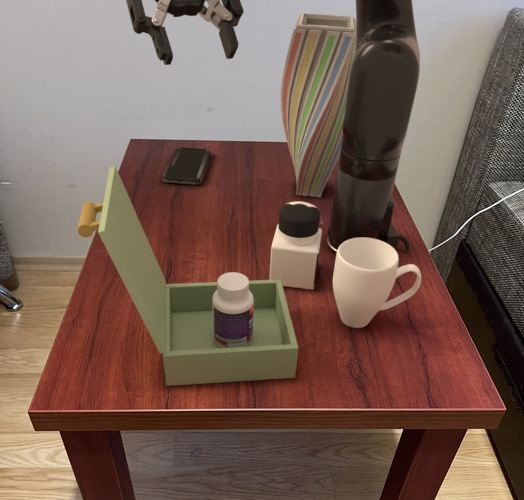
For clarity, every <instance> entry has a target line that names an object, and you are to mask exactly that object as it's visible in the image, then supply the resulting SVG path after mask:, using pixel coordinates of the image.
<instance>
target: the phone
mask: <svg viewBox="0 0 524 500" xmlns="http://www.w3.org/2000/svg"><path fill="white" fill-rule="evenodd" d="M211 158H212V151H211V150H210V149H207V148H193V147H177V148H175V149H174V151H173V153H172V155H171V158H170V160H169V161H168V164H167V165H166V167H165V169H164V172H163V173H162V182H164V183H166V184H178V185H179V184H180V185H191V186H198V185H200V184H202V182H203V180H204V177H205V174H206V171H207V168H208V166H209V163H210V160H211Z"/></svg>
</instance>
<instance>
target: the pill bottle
mask: <svg viewBox="0 0 524 500" xmlns="http://www.w3.org/2000/svg"><path fill="white" fill-rule="evenodd" d="M249 281H250V280H249V278H248V276H246V275H245V274H243V273H240V272H237V271H236V272H235V271H231V272H225V273H223V274H221V275H220V276H219V277H218V278H217V281H216V282H217V290H216V291H215V293H214V294H213V297H212V312H213V337H214V341H215V343H216V344H217V345H218V346H219V347H221V348H236V347H247V346H248V345H249V344H250V343H251V341H252V336H253V308H254V298H253V295H252V293H251V292H250V291H249Z"/></svg>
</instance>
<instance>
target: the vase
mask: <svg viewBox="0 0 524 500" xmlns="http://www.w3.org/2000/svg"><path fill="white" fill-rule="evenodd" d="M356 37H357V26H356V18H355V17H354V16H353V15H342V14H340V15H339V14H324V13H311V12H301V13H300V14H299V15H298V17H297V19H296V22H295V25H294V27H293V31H292V34H291V38H290V41H289V42H290V43H289V46H288V50H287V54H286V58H285V63H284V68H283V71H282V72H283V73H282V78H281V84H280V86H281V87H280V110H281V111H280V112H281V119H282V124H283V130H284V131H283V132H284V136H285V140H286V144H287V147H288V151H289V154H290V158H291V161H292V162H291V163H292V166H293V170H294V173H295V181H296V190H295V191H296V192H295V196H304V197H317V198H322V194H323V191H324V189H325V187H326V186H327V183H328V181H329V179H330V177H331V175H332V173H333V171H334V169H335V166H336V165H337V163H338V161H339V157H340V150H341V143H342V129H343V121H344V113H345V105H346V97H347V90H348V82H349V76H350V70H351V66H352V62H353V60H354V57H355V54H356Z"/></svg>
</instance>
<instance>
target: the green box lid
mask: <svg viewBox="0 0 524 500" xmlns="http://www.w3.org/2000/svg"><path fill="white" fill-rule="evenodd" d="M98 213H100V219H99V220H97V221H96V218H97V215H98ZM76 230H77V233H78V235H79V236H80V237H82V238H90V237H92V236H93V233H94V232H96V231H97V233H98V236H99V237H100V239H101V241H102V243H103V245H104V247H105V249H106V251H107V253H108V255H109V257H110V259H111V261H112V263H113V265H114V267H115V269H116V270H117V271H116V272H118V275H119V276H120V279H121V280H122V283H123V284H124V287H125V288H126V290H127V292H128V294H129V296H130V298H131V300H132V302H133V304H134V306H135V308H136V310H137V313H138V314H139V316H140V317H141V320H142V322H143V324H144V326H145V328H146V330H147V331H148V334H149V335H150V337H151V340H152V342H153V343H154V345H155V347H156V349H157V351H158V353H159V354H160V355H163V353H165V324H166V284H167V280H166V278H165V275H164V273H163V271H162V269H161V267H160V265H159V262H158V259H157V258H156V255H155V253H154V251H153V248H152V246H151V244H150V241H149V240H148V237H147V235H146V232H145V231H144V228H143V226H142V223H141V221H140V219H139V217H138V214H137V212H136V210H135V207H134V206H133V203H132V201H131V198H130V196H129V194H128V191H127V190H126V187H125V185H124V182H123V181H122V177H121V175H120V174H119V170H118V169H117V167H116V165H113V166H109V168H108V175H107V180H106V186H105V191H104V197H103V202H100V203H96V204H95V203H94V202H91V201H89V202H85V203H83V205H82V208H81V213H80V216H79V221H78V225H77V229H76Z"/></svg>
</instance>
